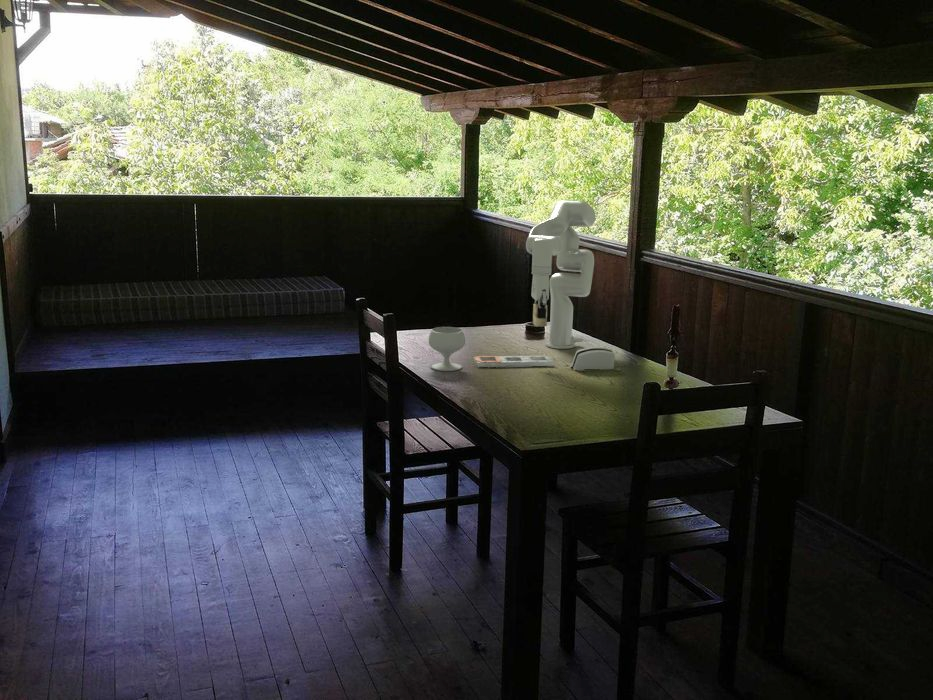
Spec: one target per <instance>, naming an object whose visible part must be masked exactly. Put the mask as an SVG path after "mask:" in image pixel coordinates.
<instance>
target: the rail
mask: <svg viewBox="0 0 933 700" xmlns="http://www.w3.org/2000/svg"><path fill="white" fill-rule="evenodd" d="M474 362H475V363H474ZM473 363H474V364H476V365H477V366H476V365H475V366H476V367H478V369H480V368H479V367H488V368H487V369H490V368H489V367H496V368H495V369H497V368H498V367H500V368H533V367H532V366H547V367H554V365H555V364H554V363H555V361H554V360H553V359H552V358H551V357H550V356H549V355H548V354H547V355H509V356H508V355H504V356H503V355H502V356H501V355H500V356H497V355H479V356H478V355H477V356H473Z"/></svg>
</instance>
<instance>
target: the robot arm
mask: <svg viewBox="0 0 933 700" xmlns="http://www.w3.org/2000/svg"><path fill="white" fill-rule="evenodd" d="M595 222H596V212H595V209H594V207H592V206H591V205H590V204H589V203H588V202H586V201H583V200H569V199H566V200H565V199H564V200H559V201H557V202H556V203H555V204H554V207H553V208H552V210H551V213H550V215H549V217H548V219H546V220H543V221H541V222H540V223H537V224H536V225H535V226H534V227H533V228H532V229H530V232H529V234H528V236H527V239H526V241H525V249H526V252H527V253H529V254H530V255H531V256H532V258H531V261H532V262H531V274H532V281H531V294H530V295H531V297H532V299H534V304H539V308H538V316H537V318H546V305H547V301H548V300H549V296H550V319H549V320H550V321H549V340H548V341H546V342H545V346H546V347H547V348H552V349H556V350H557V349H558V350H565V349H566V350H568V349H572V348H575V347H576V343H583V340H584V338H583V337H579V336H573V320H574V305H573V302H572V301H571V298H570V297H579V298H581V297H582V298H586V297H588V296H589V295H590V293H591V288H592V284H593V283H592V282H593V275H594V269H595V268H594V267H595V257H594V252H592V251H591V250H589V249H581V248H579V247H580V237H579V235H578V233H577V232H576V230H575V229H574V228H573V227H579V228H590V227H592V226H594V225H595ZM553 256H556V263H555V265H556V267H557V269H559V270H560V271H566V272H556V273H554V274H552V264H553ZM567 271H568V272H567ZM571 272H579V273H571Z"/></svg>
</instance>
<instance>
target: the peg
mask: <svg viewBox="0 0 933 700" xmlns="http://www.w3.org/2000/svg"><path fill="white" fill-rule="evenodd" d="M532 305H533V307H532V309H533V310H532V325H533V326H534V327H547V325H548V305H547V304H546V318H537V316H538V308H539V304H535V303H532Z"/></svg>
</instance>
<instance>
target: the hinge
mask: <svg viewBox="0 0 933 700" xmlns="http://www.w3.org/2000/svg"><path fill="white" fill-rule="evenodd" d="M615 358H616V356H615V352H614V350H612V349H611V348H607V347H602V346H589V347H585V348H582V349H578V350H576V351H575V354H574V357H573V359H572V362H571V363H570V366H569V367H573V368H572V370H573V369H575V370H577V371H583V370H582V369H600V370H614V369H615Z"/></svg>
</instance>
